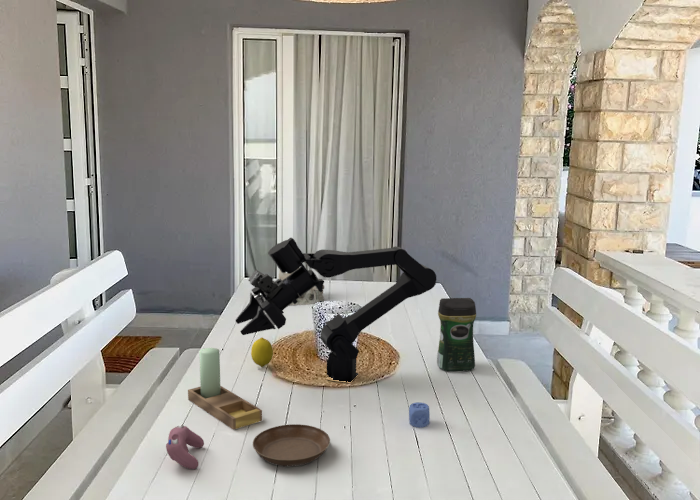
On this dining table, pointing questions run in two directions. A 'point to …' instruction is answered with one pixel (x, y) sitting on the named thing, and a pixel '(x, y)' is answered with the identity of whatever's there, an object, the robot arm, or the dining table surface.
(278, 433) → the saucer
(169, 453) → the video game controller
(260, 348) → the lemon
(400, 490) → the dining table surface
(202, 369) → the peg
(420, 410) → the decorative dice
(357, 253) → the robot arm
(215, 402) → the wooden compartment tray
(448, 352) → the coffee jar
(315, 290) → the ceramic cottage
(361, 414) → the dining table surface
